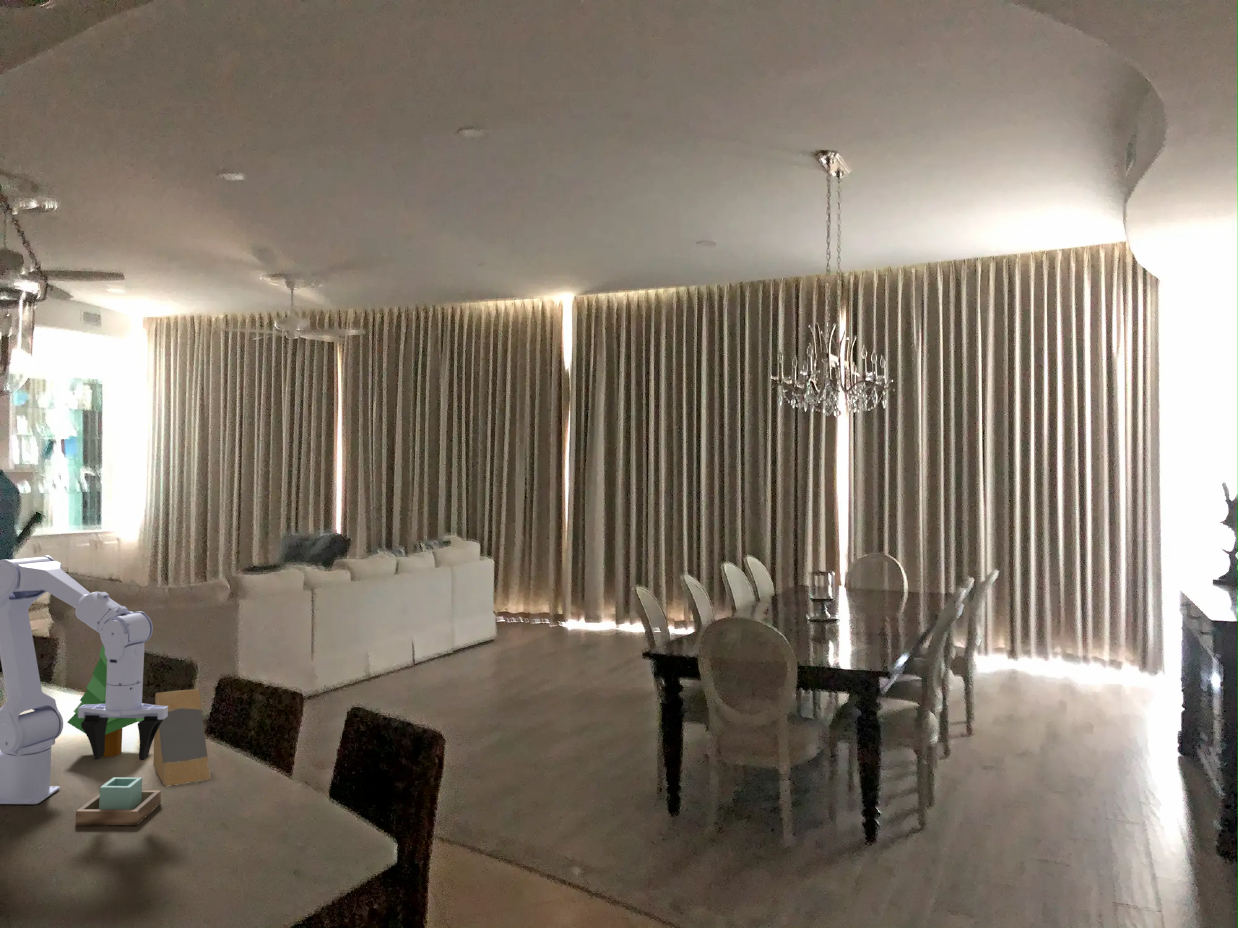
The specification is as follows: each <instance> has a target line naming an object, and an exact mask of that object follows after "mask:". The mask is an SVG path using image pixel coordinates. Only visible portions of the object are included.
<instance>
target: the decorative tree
mask: <svg viewBox="0 0 1238 928" xmlns="http://www.w3.org/2000/svg"><path fill="white" fill-rule="evenodd" d="M98 656H99V660H97V661H98V662H97V664H96V666H95V668H94V670H93V672H92V676H91V677H92V678H91V679H90V681H88V684H87V686H86V687H85V688H86V689H87V690H86V691H85V692H84V693H83V695H82V697H81V698H80V699H79V701H80V703H79V704H78V706H77V707H76V708H75V709H74V710H73V713H75V714H73V716H71V718H69V720H67V722H66V723H67V724H68V725H69V724H70V725H71V726H72V727H74V728H75V729H77V730H78V731H80V732H82V733H83V734H85V735H86V733H85V732H84V730H83V729H82V727H81V723H82V722H83V721H84V719H85V718H78V708H79V707H80V706H82V705H89V704H105V703H106V681H107V658H106V655H105V647H104V645H103V644H102V645H101V648H100V652H99V654H98ZM142 720H144V718H108V722H107V726H106V733H105V751H104V756H103V757H102V758H110V757H115V756H118V755H120V754H121V753H122V746H123V745H122V743H123V728H125V727H127V726H128V727H129V726H131V725H132V724H136V723H139V722H141V721H142Z"/></svg>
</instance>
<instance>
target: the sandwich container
mask: <svg viewBox="0 0 1238 928" xmlns="http://www.w3.org/2000/svg"><path fill="white" fill-rule="evenodd" d="M154 698H155V699H154V701H155V702H154V705H159V706H168V717H166V718H165V719H163V721H162V723H161V725H160V726H159V728H158V730H157V732H156V734H155V736H154V739H153V760H152V761H153V764H152V765H153V767H154V769H155V772H156V774H157V775H158V777H159V778H160V780H161V781H163V782H164V783H163V782H162V783H163V784H165V785H166V786H168V785H175V784H183V783H186V782H195V781H198V780H206V779H211V780H212V777H211V771H210V764H209V758H208V749H207V743H206V737H205V727H204V720H203V713H202V712H203V711H202V702H201V695H200V688H196V689H195V688H194V689H183V690H182V689H181V690H171V691H161V692H156V693H155V697H154ZM195 783H196V782H195ZM165 785H164V786H165ZM183 785H184V784H183ZM166 786H165V787H166Z"/></svg>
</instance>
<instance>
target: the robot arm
mask: <svg viewBox="0 0 1238 928" xmlns="http://www.w3.org/2000/svg"><path fill="white" fill-rule="evenodd" d="M47 593H48V594H50V595H52V596H53V597H55V598H57V599H59V600H60V601H62V602H63V603H66V604H68V605H69V606H71V607H72V608H74V610H75V611H74V613H75V617H76V618H77V619H78V620H80V621H81V622H82V623H84V624H85V625H87V626H88V627H89V628H91V629H92V630H94V632H95V631H96V632H97V633H98V634H99V636H100V640H101V643H102V645H104V647H105V655H106V658H107V681H106V703H105V704H89V705H82V706H80V707H79V708H78V718H85V719H84V721H83V722H82V723H81V727H82V729H83V730H84V732H85V733H86V734H85V733H84V732H83V733H84V734H85V735H86V737H87V739H88V741H89V744H90V746H91V750H92V754H93V760H94V761H98V760H100V759H102V758H103V756H104V751H105V733H106V726H107V722H108V718H144V720H142V721H141V722H137V729H138V736H139V748H138V751H139V752H138V760H139V761H145V760H147V758H149V754H150V750H151V746H152V744H153V742H154V736H155V734H156V732H157V730H158V728H159V726H160V725H161V723H162V721H163V719H165V718H166V717H168V706H159V705H155V704H150V703H143V685H144V667H145V665H144V664H145V663H144V661H145V643H146V642H147V643H148V642H149V640H150V639H151V637H152V635H153V632H154V627H153V622H152V620H151V618H150V617H149V616H148V615H147V614H146V613H145V611H141V610H140V611H132V610H128V609H129V608H128V607H126V606H125V605H121V604H120V603H118V602H116V601H115V600H113V599H112V598H110V594H109V593H108V592H106V591H94V592H90V591H89V590H87V589H86V588H85V587H83V585H82V584H80V583H79V582H78V581H77V580H75V579H74V578H73V577H72V576H70V575H69V574H68V573H66V572H65V571H64V570H63V564H62V562H59V561H58V560H56V559H55V558H54V557H52V556H50V555H41V556H37V557H36V556H34V557H24V558H14V559H7V558H6V559H0V664H1V669H2V675H3V676H2V677H3V681H4V687H5V693H6V698H7V699H6V701H5V702H4V703H3V705H2V706H1V707H0V805H38V804H40V803H41V802H43V801H44V800H46V799H47V798H49V797H50V796H51V795H53V794H54V793H56V792H58V791H59V790H60V788H61V787H60V786H58V785H55V786H53V785H51V769H52V768H51V767H52V766H51V764H52V762H51V761H52V746H54V745H55V744H56V739H57V738H59V736H60V735H61V734H62V732H63V729H64V719H63V716H62V714H61V712H60V711H59V709H58V707H57V702H56V701H57V700H56V699H55V698H54V697H52V696H50V695H48V694H46V693H45V692H43V690H42V684H41V678H40V672H39V668H38V667H39V666H38V660H37V653H36V649H35V642H34V637H33V633H32V632H33V631H32V627H31V620H30V614H29V609H30V607H31V606H32V605H33V603H35V602H36V601H37V600H38V599H40V598H41V597H42V596H43V595H44V594H47ZM31 710H32V711H31ZM26 711H29V712H26ZM23 712H26V713H23Z"/></svg>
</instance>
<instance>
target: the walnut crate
mask: <svg viewBox="0 0 1238 928" xmlns="http://www.w3.org/2000/svg"><path fill="white" fill-rule="evenodd" d="M99 798H100V793H98V794H97V795H96V796H94V797H93V798H91V799H90V800H89V801H88V802H86V803H85V804H84V805H82V806H81V807H80V808H78V809H76V811H75V827H80V826H82V827H87V826H88V827H109V826H108V825H137V824H138V823H139V822H140V821H141V820H142V819H143V820H144V818H145V816H147V815H148V814H149V813H150V812H151V811H152V810H153V809H154V808H156V806H158V805H159V804H160V803H161V801H162V790H151V789H150V790H143V789H142V799H141V804H140V805H139V806H138V807H137V808H135V809H134V810H99ZM160 805H161V804H160ZM160 805H159V806H160ZM159 806H158V807H159ZM156 809H157V808H156ZM153 811H154V810H153ZM153 811H152V812H153ZM152 812H151V813H152ZM151 813H150V814H151ZM150 814H149V815H150ZM149 815H148V816H149ZM148 816H147V817H148ZM145 819H146V818H145ZM143 820H142V821H143ZM142 821H141V822H142ZM141 822H140V823H141ZM140 823H139V824H140ZM139 824H138V825H139ZM104 825H106V826H104ZM138 825H137V826H138Z"/></svg>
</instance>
